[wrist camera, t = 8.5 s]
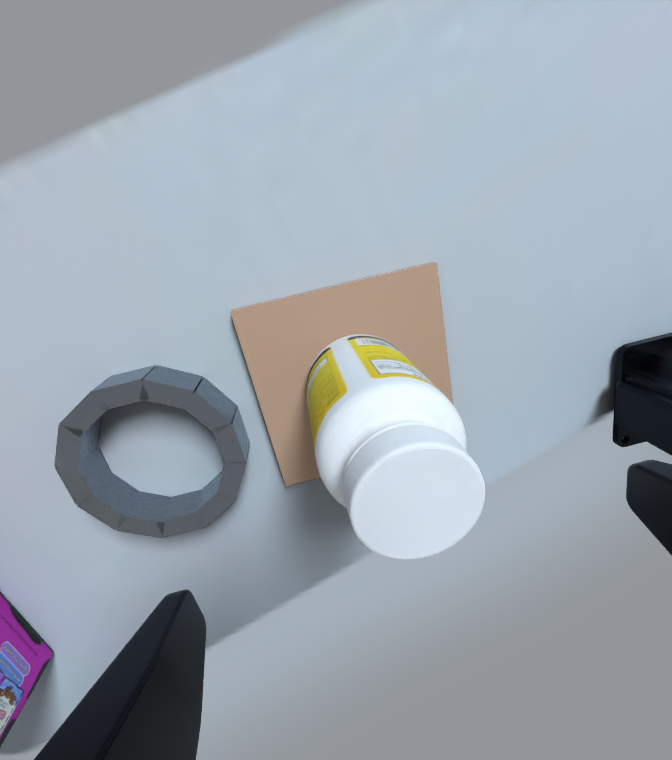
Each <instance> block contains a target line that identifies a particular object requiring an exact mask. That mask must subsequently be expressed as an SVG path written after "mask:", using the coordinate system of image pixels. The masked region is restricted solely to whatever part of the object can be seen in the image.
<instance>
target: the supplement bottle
mask: <svg viewBox="0 0 672 760" xmlns="http://www.w3.org/2000/svg"><path fill="white" fill-rule="evenodd" d="M306 398H307V404H308V410H309V416H310V423H311V430H312V436H313V444H314V452H315V459H316V463H317V467H318V471H319V474H320V477H321V479H322V481H323V483H324V485H325V487H326V488H327V490H328V491H329V492H330V494H331V495H332V496H333V497H334V498H335V499H336V500H337V501H338V502H339V503H340V504H341V505H343V506H344V507H346V508H347V511H348V515H349V519H350V522H351V525H352V528H353V530H354V532H355V534H356V535H357V537H358V538H359V540H360V541H361V542H362V543H363V544H364V545H365V546H366V547H367V548H369V549H370V550H372V551H373V552H375V553H377V554H379V555H382V556H385V557H388V558H392V559H399V560H413V559H421V558H426V557H429V556H432V555H435V554H437V553H440V552H442V551H444V550H446V549H448V548H449V547H451V546H453V545H454V544H456V543H457V542H458V541H459V540H461V539H462V538H463V537H464V536H465V535H466V534H467V533H468V532H469V531H470V530H471V528H472V527H473V526H474V524H475V522H476V521H477V520H478V518H479V515H480V514H481V511H482V508H483V504H484V499H485V485H484V479H483V477H482V474H481V472H480V470H479V467H478V466H477V464H476V463H475V462H474V461H473V459H472V458H471V457H470V455H469V454H468V453H467V452H466V433H465V429H464V425H463V422H462V420H461V418H460V416H459V414H458V412H457V410H456V409H455V407H454V406H453V404H452V403H451V402H450V401H449V399H448V398H447V397H446V396H445V395H444V394H443V393H442V392H441V391H440V390H439V389H438V388H437V387H436V386H435V385H434V384H433V383H432V382H431V381H430V380H429V379H428V378H427V377H426V376H425V375H424V374H423V373H422V372H421V371H420V370H419V369H418V368H417V367H416V366H415V365H414V364H412V363H411V362H410V361H409V360H408V359H407V358H406V357H405V356H404V355H403V354H402V353H401V352H400V351H399V350H398V349H397V348H396V347H395V346H393V345H392V344H391V343H389V342H387V341H386V340H384V339H382V338H379V337H376V336H372V335H366V334H356V335H349V336H345V337H342V338H340V339H337V340H335V341H333V342H332V343H330V344H329V345H327V346H326V347H325V348H324V349H323V350H321V351H320V353H319V354H318V355H317V356H316V358H315V359H314V360H313V362H312V364H311V366H310V368H309V371H308V374H307V379H306Z"/></svg>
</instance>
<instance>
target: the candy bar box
mask: <svg viewBox="0 0 672 760" xmlns="http://www.w3.org/2000/svg"><path fill="white" fill-rule="evenodd" d="M52 655H53V653H52V651H51V649H50V648H49V647H48V645H47V644H46V643H45V642H44V641H43V640H42V639H41V638H40V636H39V635H38V634H37V633H36V632H35V631H34V630H33V629H32V627H31V626H30V625H29V624H28V623H27V622H26V621H25V620H24V619H23V618H22V617H21V615H20V614H19V613H18V612H17V611H16V610H15V609H14V608H13V607H12V605H11V604H10V603H9V602H8V601H7V600H6V599H5V598H4V597H3V596H2V594H1V593H0V747H1V745H2V743H3V741H4V740H5V738H6V736H7V734H8V733H9V731H10V729H11V727H12V726H13V724H14V722H15V721H16V719H17V717H18V715H19V714H20V712H21V710H22V708H23V707H24V705H25V703H26V701H27V699H28V698H29V696H30V694H31V692H32V691H33V689H34V687H35V685H36V683H37V682H38V680H39V678H40V677H41V675H42V673H43V671H44V669H45V668H46V666H47V664H48V662H49V661H50V659H51V657H52Z"/></svg>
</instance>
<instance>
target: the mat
mask: <svg viewBox="0 0 672 760" xmlns="http://www.w3.org/2000/svg"><path fill="white" fill-rule="evenodd" d="M230 313H231V316H232V319H233V322H234V325H235V329H236V332H237V335H238V338H239V341H240V344H241V347H242V351H243V354H244V357H245V360H246V363H247V366H248V369H249V373H250V376H251V379H252V382H253V385H254V388H255V391H256V394H257V398H258V401H259V404H260V407H261V410H262V413H263V416H264V420H265V423H266V426H267V429H268V432H269V435H270V438H271V442H272V445H273V448H274V451H275V454H276V457H277V460H278V464H279V467H280V470H281V473H282V476H283V479H284V482H285V486H289V485H293V484H297V483H301V482H305V481H309V480H313V479H317V478H320V474H319V471H318V467H317V463H316V459H315V452H314V444H313V436H312V430H311V423H310V416H309V410H308V404H307V398H306V379H307V374H308V371H309V368H310V366H311V364H312V362H313V360H314V359H315V358H316V356H317V355H318V354H319V353H320V351H321V350H323V349H324V348H325V347H326V346H327V345H329V344H330V343H332V342H333V341H335V340H337V339H340V338H342V337H345V336H349V335H356V334H366V335H372V336H376V337H379V338H382V339H384V340H386V341H387V342H389V343H391V344H392V345H393V346H395V347H396V348H397V349H398V350H399V351H400V352H401V353H402V354H403V355H404V356H405V357H406V358H407V359H408V360H409V361H410V362H411V363H412V364H414V365H415V366H416V367H417V368H418V369H419V370H420V371H421V372H422V373H423V374H424V375H425V376H426V377H427V378H428V379H429V380H430V381H431V382H432V383H433V384H434V385H435V386H436V387H437V388H438V389H439V390H440V391H441V392H442V393H443V394H444V395H445V396H446V397H447V398H448V399H449V401H450V402H451V403H452V404H453V399H452V390H451V382H450V373H449V365H448V356H447V347H446V339H445V330H444V322H443V313H442V305H441V296H440V287H439V279H438V270H437V263H433V262H432V263H428V264H423V265H419V266H415V267H411V268H407V269H402V270H398V271H394V272H390V273H386V274H381V275H377V276H373V277H369V278H364V279H360V280H356V281H352V282H348V283H343V284H339V285H335V286H331V287H327V288H322V289H318V290H314V291H310V292H306V293H301V294H297V295H293V296H289V297H285V298H280V299H276V300H272V301H268V302H264V303H259V304H255V305H251V306H247V307H243V308H238V309H234V310H232V311H231V312H230Z"/></svg>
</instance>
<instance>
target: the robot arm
mask: <svg viewBox="0 0 672 760" xmlns="http://www.w3.org/2000/svg"><path fill="white" fill-rule="evenodd" d="M629 351H630V352H629ZM628 352H629V354H628V355H627V353H628ZM613 422H614V423H613V442H614V443H615V444H617V445H619V446H621V447H627V446H630V445H634V444H638V443H642V442H646V441H647V442H649V443H650V444H652V445H654V446H656V447H657V448H659V449H661V450H663V451H665V452H667V453H668V454H670V455H672V333H668V334H664V335H660V336H656V337H652V338H648V339H644V340H640V341H636V342H632V343H628V344H625V345H623V346H621V347H620V348H619V350H618V352H617V363H616V382H615V402H614V421H613ZM623 437H624V438H623ZM626 498H627V502H628V504H629V506H630V508H631V509H632V511H633V512H634V513H635V514H636V515H637V516H638V517H639V519H640V520H641V521H642V522H643V523H644V524H645V526H646V527H647V528H648V529H649V530H650V531H651V532H652V534H653V535H654V536H655V537H656V538H657V539H658V540H659V541H660V543H661V544H662V545H663V546H664V547H665V548H666V550H667V551H668V552H669V553H670V554H671V555H672V464H668V463H663V462H660V461H655V460H646V461H642V462H639V463H635V464H632V465H631V466H630V467H629V468H628V472H627V490H626ZM205 642H206V623H205V619H204V616H203V614H202V612H201V610H200V608H199V606H198V604H197V602H196V600H195V598H194V596H193V594H192V593H191V592H190V591H189V590H182V591H178V592H174V593H171V594H168V595H167V596H165V597H164V598H163V600H162V601H161V602H160V603H159V604H158V606H157V607H156V608H155V609H154V611H153V612H152V613H151V614H150V616H149V617H148V618H147V619H146V621H145V622H144V623H143V624H142V626H141V627H140V628H139V629H138V631H137V632H136V633H135V634H134V636H133V637H132V638H131V639H130V641H129V642H128V643H127V644H126V646H125V647H124V648H123V649H122V651H121V652H120V653H119V654H118V656H117V657H116V658H115V659H114V661H113V662H112V663H111V664H110V666H109V667H108V668H107V669H106V671H105V672H104V673H103V674H102V676H101V677H100V678H99V679H98V680H97V682H96V683H95V684H94V685H93V687H92V688H91V689H90V690H89V692H88V693H87V694H86V695H85V697H84V698H83V699H82V700H81V702H80V703H79V704H78V705H77V707H76V708H75V709H74V710H73V712H72V713H71V714H70V715H69V717H68V718H67V719H66V720H65V722H64V723H63V724H62V725H61V727H60V728H59V729H58V730H57V732H56V733H55V734H54V735H53V737H52V738H51V739H50V740H49V742H48V743H47V744H46V745H45V747H44V748H43V749H42V750H41V752H40V753H39V754H38V755H37V757H36V758H35V759H34V760H196V754H197V747H198V740H199V732H200V724H201V712H202V696H203V678H204V660H205Z"/></svg>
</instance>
